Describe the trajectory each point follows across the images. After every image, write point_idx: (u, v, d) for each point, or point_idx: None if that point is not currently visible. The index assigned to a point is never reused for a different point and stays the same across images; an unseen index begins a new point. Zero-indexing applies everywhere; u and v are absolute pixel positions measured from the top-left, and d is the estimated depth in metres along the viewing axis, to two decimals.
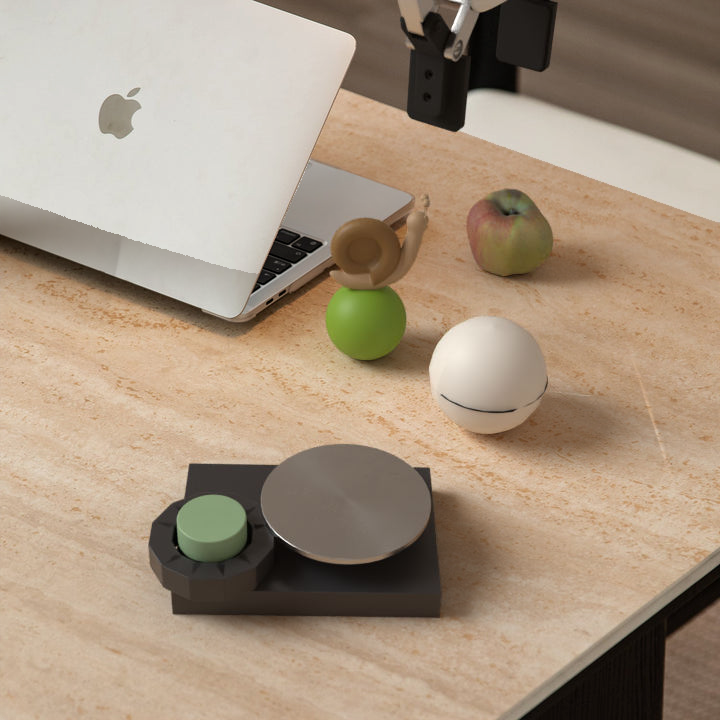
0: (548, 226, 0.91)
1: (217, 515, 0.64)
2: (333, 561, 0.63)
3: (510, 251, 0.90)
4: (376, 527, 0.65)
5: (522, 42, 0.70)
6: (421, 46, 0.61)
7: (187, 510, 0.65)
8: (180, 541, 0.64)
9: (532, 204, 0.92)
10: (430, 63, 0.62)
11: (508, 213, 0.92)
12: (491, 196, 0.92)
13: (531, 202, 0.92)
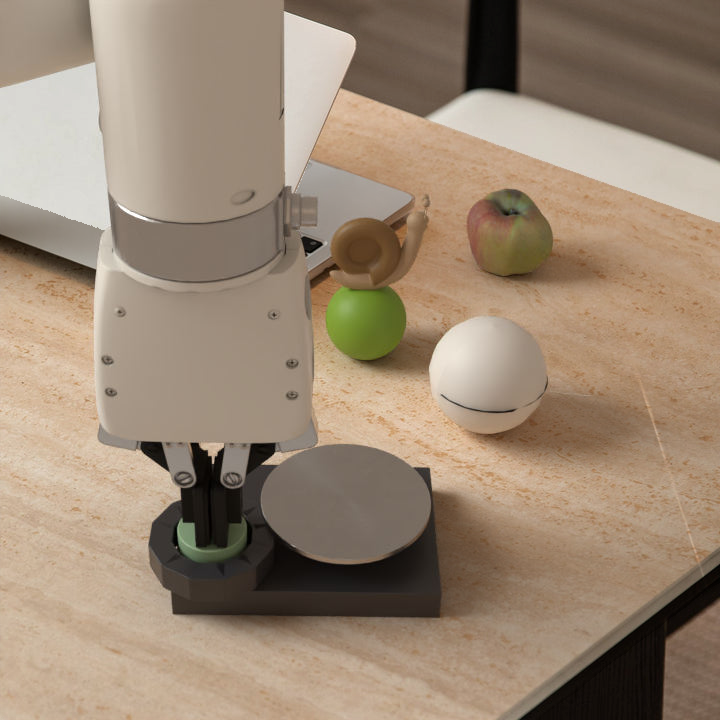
0: (548, 226, 0.91)
1: None
2: (333, 561, 0.63)
3: (510, 251, 0.90)
4: (376, 527, 0.65)
5: None
6: None
7: None
8: (181, 551, 0.64)
9: (532, 204, 0.92)
10: None
11: (508, 213, 0.92)
12: (491, 196, 0.92)
13: (531, 202, 0.92)
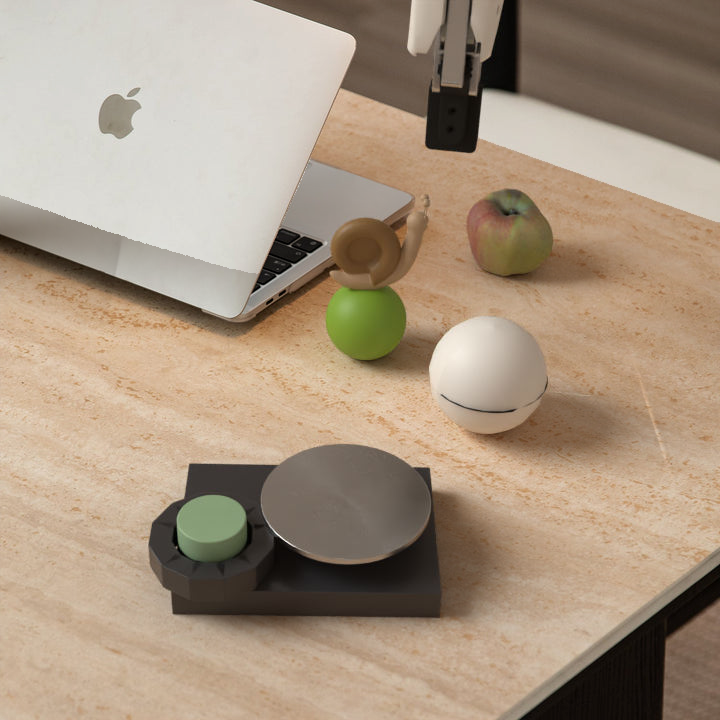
0: (548, 226, 0.91)
1: (217, 515, 0.64)
2: (333, 561, 0.63)
3: (510, 251, 0.90)
4: (376, 527, 0.65)
5: None
6: (449, 89, 0.74)
7: (187, 510, 0.65)
8: (180, 541, 0.64)
9: (532, 204, 0.92)
10: (453, 101, 0.75)
11: (508, 213, 0.92)
12: (491, 196, 0.92)
13: (531, 202, 0.92)
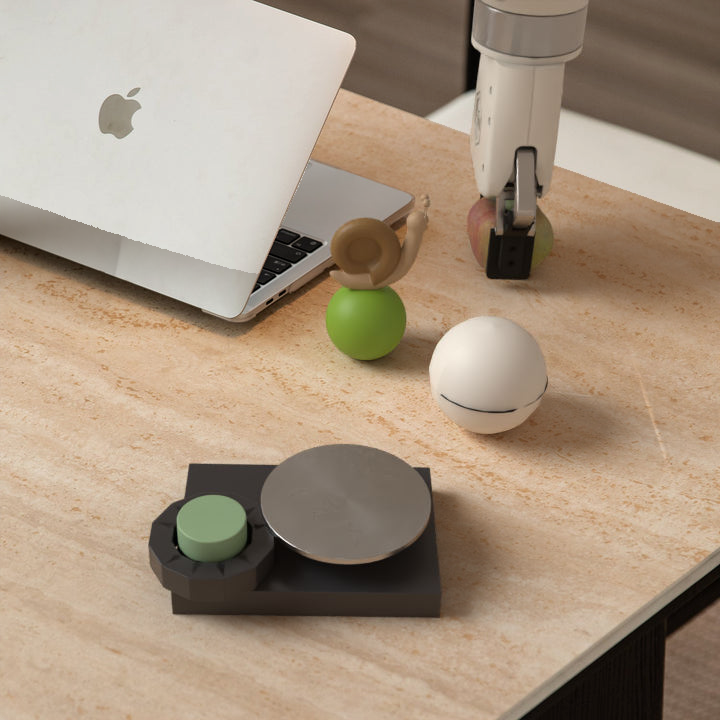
0: (549, 224, 0.91)
1: (217, 515, 0.64)
2: (333, 561, 0.63)
3: None
4: (376, 527, 0.65)
5: None
6: (512, 233, 0.87)
7: (187, 510, 0.65)
8: (180, 541, 0.64)
9: None
10: (513, 241, 0.88)
11: None
12: None
13: None
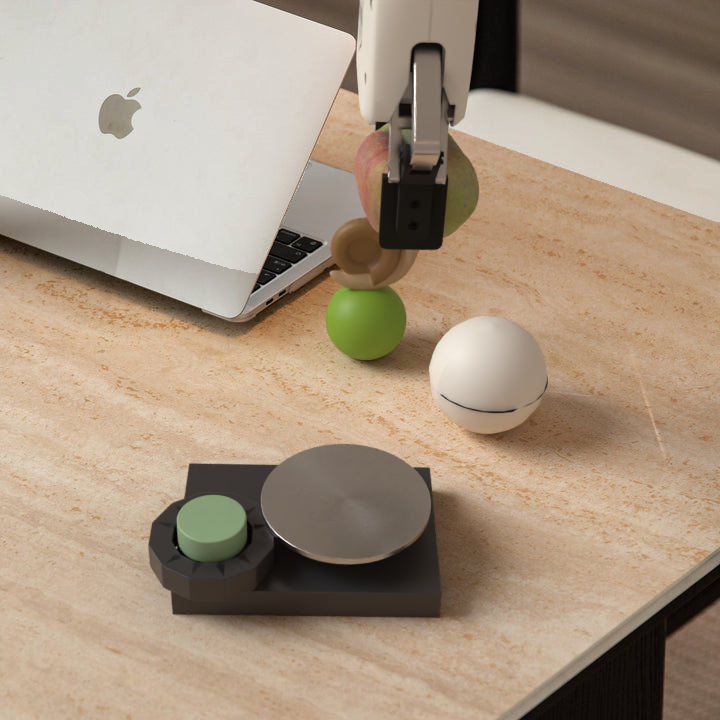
0: (471, 168, 0.63)
1: (217, 515, 0.64)
2: (333, 561, 0.63)
3: None
4: (376, 527, 0.65)
5: None
6: (413, 179, 0.59)
7: (187, 510, 0.65)
8: (180, 541, 0.64)
9: (448, 138, 0.63)
10: (416, 192, 0.60)
11: None
12: None
13: None
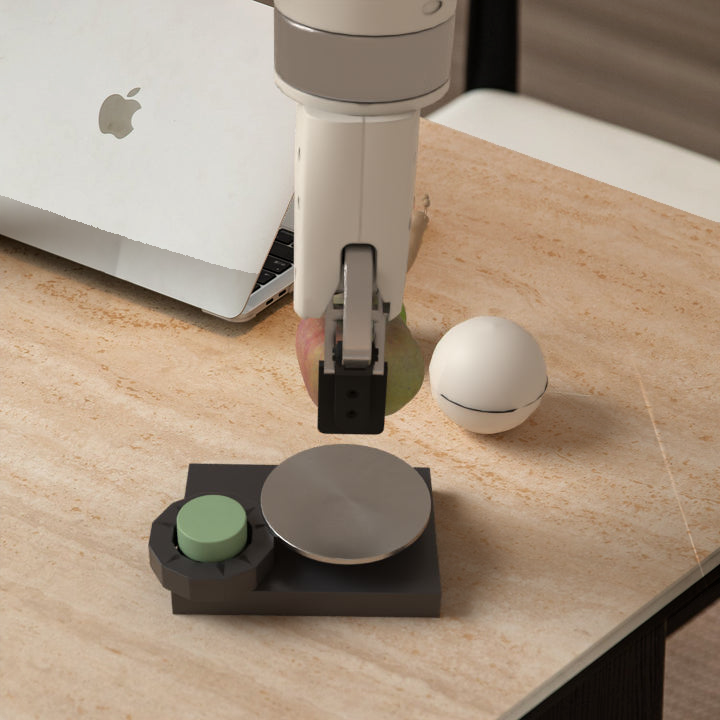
0: (415, 350, 0.60)
1: (217, 515, 0.64)
2: (333, 561, 0.63)
3: None
4: (376, 527, 0.65)
5: None
6: (348, 372, 0.56)
7: (187, 510, 0.65)
8: (180, 541, 0.64)
9: None
10: (353, 382, 0.57)
11: None
12: None
13: None
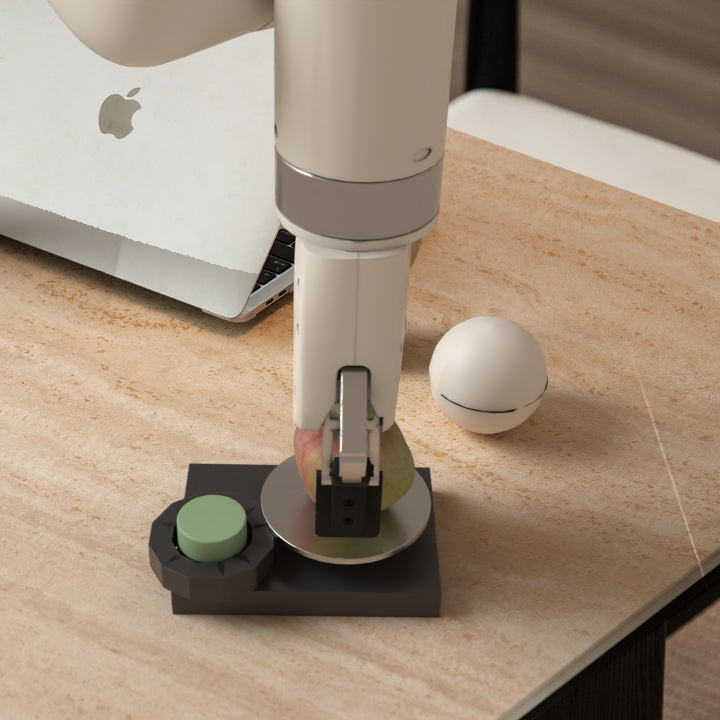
0: (405, 452, 0.64)
1: (217, 515, 0.64)
2: (333, 561, 0.63)
3: None
4: None
5: None
6: (345, 485, 0.58)
7: (187, 510, 0.65)
8: (180, 541, 0.64)
9: None
10: (349, 492, 0.59)
11: None
12: None
13: None
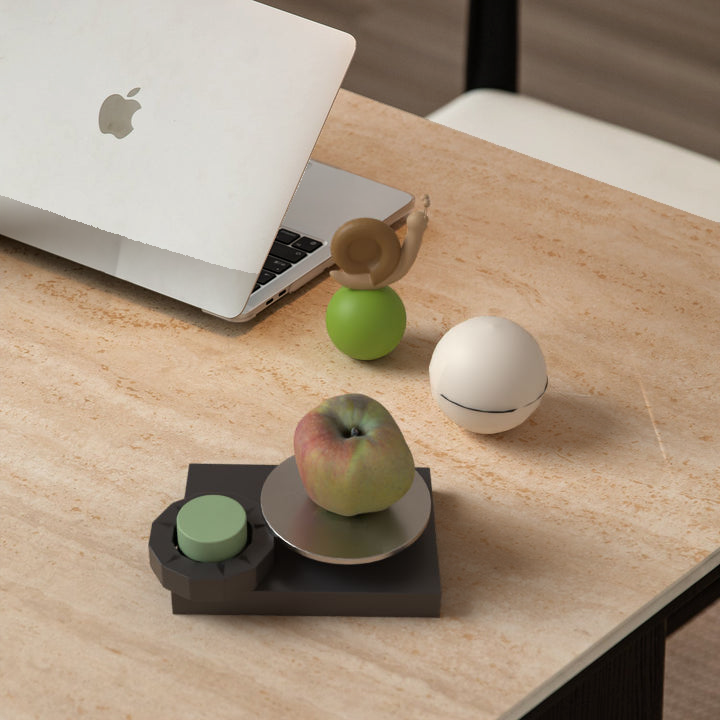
0: (405, 452, 0.64)
1: (217, 515, 0.64)
2: (333, 561, 0.63)
3: (350, 491, 0.63)
4: (376, 527, 0.65)
5: None
6: None
7: (187, 510, 0.65)
8: (180, 541, 0.64)
9: (384, 418, 0.64)
10: None
11: (350, 431, 0.64)
12: (326, 406, 0.65)
13: (383, 414, 0.65)
